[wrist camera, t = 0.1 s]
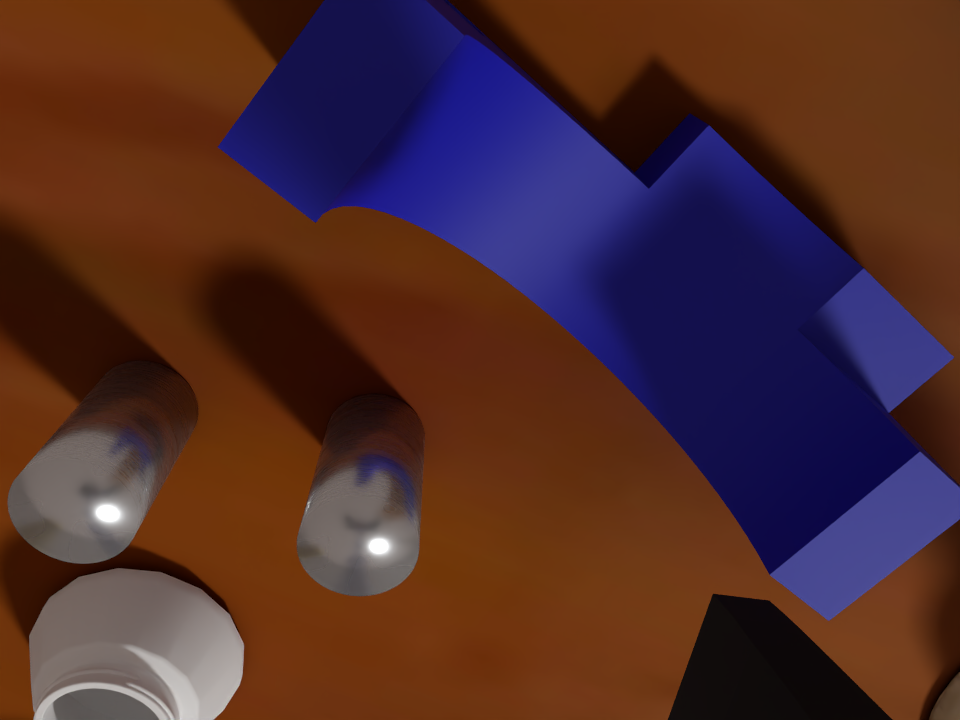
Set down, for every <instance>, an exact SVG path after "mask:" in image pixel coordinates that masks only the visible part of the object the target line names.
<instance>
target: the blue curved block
mask: <svg viewBox="0 0 960 720" xmlns="http://www.w3.org/2000/svg"><path fill="white" fill-rule="evenodd" d="M218 148H220V149H221V150H222V151H224V152H225V153H226V154H228V155H229V156H230V157H231V158H233V159H234V160H235V161H237V162H238V163H239V164H240V165H242V166H243V167H244V168H246V169H247V170H248V171H249V172H251V173H252V174H253V175H255V176H256V177H257V178H258V179H260V180H261V181H262V182H264V183H265V184H266V185H268V186H269V187H270V188H271V189H273V190H274V191H275V192H277V193H278V194H279V195H280V196H282V197H283V198H284V199H286V200H287V201H288V202H289V203H291V204H292V205H293V206H295V207H296V208H297V209H298V210H300V211H301V212H302V213H304V214H305V215H306V216H307V217H309V218H310V219H311V220H313V221H314V222H315V223H316V222H317V220H318V219H319V218H320V217H321V215H322V214H324V213H325V212H327V211H329V210H330V209H333V208H337V207H341V206H359V207H365V208H371V209H375V210H378V211H382V212H386V213H388V214H391V215H394V216H396V217H399V218H402V219H404V220H406V221H409V222H411V223H413V224H415V225H417V226H420V227H422V228H423V229H425V230H427V231H429V232H431V233H433V234H435V235H437V236H439V237H440V238H442V239H444V240H446V241H447V242H449V243H451V244H452V245H454V246H456V247H457V248H459V249H461V250H462V251H464V252H465V253H467V254H468V255H470V256H472V257H473V258H475V259H476V260H478V261H479V262H481V263H482V264H483V265H485V266H486V267H488V268H489V269H491V270H492V271H494V272H495V273H496V274H498V275H499V276H500V277H502V278H503V279H505V280H506V281H507V282H509V283H510V284H511V285H513V286H514V287H515V288H517V289H518V290H519V291H520V292H522V293H523V294H524V295H526V296H527V297H528V298H529V299H531V300H532V301H533V302H534V303H536V304H537V305H538V306H539V307H540V308H542V309H543V310H544V311H545V312H547V313H548V314H549V315H550V316H551V317H552V318H554V319H555V320H556V321H557V322H558V323H559V324H561V325H562V326H563V327H564V328H565V329H566V330H567V331H569V332H570V333H571V334H572V335H573V336H574V337H575V338H576V339H577V340H579V341H580V342H581V343H582V344H583V345H584V346H585V347H586V348H587V349H588V350H589V351H591V352H592V353H593V354H594V355H595V356H596V357H597V358H598V359H599V360H600V361H601V362H602V363H603V364H604V365H605V366H606V367H607V368H608V369H609V370H610V371H611V372H612V373H613V374H614V375H615V376H616V377H617V378H618V379H619V380H620V381H621V382H622V383H623V384H624V385H625V386H626V387H627V388H628V389H629V390H630V391H631V392H632V393H633V394H634V395H635V396H636V397H637V398H638V399H639V400H640V401H641V402H642V403H643V405H644V406H645V407H646V408H647V409H648V410H649V411H650V412H651V413H652V414H653V415H654V416H655V418H656V419H657V420H658V421H659V422H660V423H661V424H662V425H663V427H664V428H665V429H666V430H667V431H668V432H669V433H670V434H671V436H672V437H673V438H674V439H675V440H676V442H677V443H678V444H679V445H680V446H681V447H682V449H683V450H684V451H685V452H686V453H687V455H688V456H689V457H690V458H691V460H692V461H693V462H694V463H695V465H696V466H697V467H698V468H699V470H700V471H701V472H702V473H703V475H704V476H705V477H706V478H707V480H708V481H709V482H710V484H711V485H712V486H713V488H714V489H715V490H716V492H717V493H718V494H719V496H720V497H721V499H722V500H723V501H724V503H725V504H726V506H727V507H728V508H729V510H730V511H731V513H732V514H733V515H734V517H735V518H736V520H737V521H738V523H739V524H740V526H741V527H742V529H743V531H744V532H745V534H746V535H747V537H748V538H749V540H750V542H751V543H752V545H753V546H754V548H755V550H756V551H757V553H758V555H759V556H760V558H761V560H762V562H763V564H764V565H765V567H766V569H767V571H768V573H769V575H770V576H772V577H773V578H774V579H776V580H777V581H778V582H780V583H781V584H782V585H783V586H785V587H786V588H787V589H789V590H790V591H791V592H792V593H794V594H795V595H796V596H798V597H799V598H800V599H801V600H803V601H804V602H805V603H807V604H808V605H809V606H810V607H812V608H813V609H814V610H816V611H817V612H818V613H819V614H821V615H822V616H823V617H825V618H826V619H827V620H831V619H832V618H833V617H834V616H836V615H837V614H838V613H840V612H841V611H842V610H843V609H845V608H846V607H847V606H849V605H850V604H851V603H852V602H854V601H855V600H856V599H858V598H859V597H860V596H861V595H863V594H864V593H865V592H867V591H868V590H869V589H870V588H872V587H873V586H874V585H876V584H877V583H878V582H879V581H881V580H882V579H883V578H885V577H886V576H887V575H888V574H890V573H891V572H892V571H894V570H895V569H896V568H897V567H899V566H900V565H901V564H903V563H904V562H905V561H906V560H908V559H909V558H910V557H912V556H913V555H914V554H916V553H917V552H918V551H919V550H921V549H922V548H923V547H925V546H926V545H927V544H928V543H930V542H931V541H932V540H934V539H935V538H936V537H937V536H939V535H940V534H941V533H943V532H944V531H945V530H946V529H948V528H949V527H950V526H952V525H953V524H954V523H955V522H957V521H958V520H959V519H960V485H959V484H958V483H957V482H956V481H955V480H954V479H953V478H952V477H951V476H950V475H949V474H948V473H947V472H946V471H945V470H944V469H943V468H942V467H941V466H940V465H939V464H938V463H937V462H936V461H935V460H934V459H933V458H932V457H931V456H930V455H929V454H928V453H927V452H926V451H925V450H924V449H923V448H922V447H921V446H920V445H919V444H918V443H917V442H916V440H915V439H914V438H913V437H912V436H911V435H910V434H909V433H908V432H907V431H906V430H905V429H904V428H903V427H902V426H901V425H900V424H899V423H898V422H897V421H896V420H895V419H894V418H893V417H892V416H891V415H890V414H889V412H890V411H892V410H893V409H894V408H895V407H896V406H898V405H899V404H900V403H901V402H902V401H903V400H905V399H906V398H907V397H908V396H909V395H911V394H912V393H913V392H914V391H915V390H916V389H918V388H919V387H920V386H921V385H922V384H923V383H925V382H926V381H927V380H928V379H929V378H931V377H932V376H933V375H934V374H935V373H936V372H938V371H939V370H940V369H941V368H942V367H944V366H945V365H946V364H947V363H948V362H949V361H951V360H952V359H953V358H954V357H953V356H952V355H951V354H950V353H949V352H948V351H947V350H946V349H945V348H944V347H943V346H942V345H941V344H940V343H939V342H938V341H937V340H936V339H935V338H934V337H933V336H932V335H931V334H930V333H929V332H928V331H927V330H926V329H925V328H924V327H923V326H922V325H921V324H920V323H919V322H918V321H917V320H916V319H915V318H914V317H913V316H912V315H911V314H910V313H909V312H908V311H907V310H906V309H904V308H903V307H902V306H901V305H900V304H899V303H898V302H897V301H896V300H895V299H894V298H893V297H892V296H891V295H890V294H889V293H888V292H887V291H886V290H885V289H884V288H883V287H882V286H881V285H880V284H879V283H878V282H877V281H876V280H875V279H874V278H873V277H872V276H871V275H870V274H869V273H868V272H867V271H866V270H865V269H864V268H863V267H862V266H861V265H859V264H858V263H857V262H856V261H855V260H854V259H853V258H851V257H850V256H849V255H848V254H847V253H846V252H845V251H844V250H842V249H841V248H840V247H839V246H838V245H837V244H836V243H835V242H833V241H832V240H831V239H830V238H829V237H828V236H827V235H826V234H825V233H823V232H822V231H821V230H820V229H819V228H818V227H817V226H816V225H815V224H813V223H812V222H811V221H810V220H809V219H808V218H807V217H806V216H805V215H804V214H802V213H801V212H800V211H799V210H798V209H797V208H796V207H795V206H794V205H793V204H792V203H790V202H789V201H788V200H787V199H786V198H785V197H784V196H783V195H782V194H781V193H780V192H779V191H777V190H776V189H775V188H774V187H773V186H772V185H771V184H770V183H769V182H768V181H767V180H766V179H765V178H764V177H763V176H761V175H760V174H759V173H758V172H757V171H756V170H755V169H754V168H753V167H752V166H751V165H750V164H749V163H748V162H747V161H746V160H745V159H744V158H742V157H741V156H740V155H739V154H738V153H737V152H736V151H735V150H734V149H733V148H732V147H731V146H730V145H729V144H728V143H727V142H726V141H725V140H724V139H723V138H722V137H721V136H720V135H719V134H718V133H717V132H716V131H715V130H713V129H712V128H711V127H710V126H709V125H708V124H706V123H705V122H703V121H701V120H700V119H698V118H697V117H695V116H693V115H692V114H690V113H689V115H688V116H687V117H686V118H685V119H684V120H683V121H682V122H681V123H680V124H679V125H678V126H677V128H676V129H675V130H674V131H673V132H672V133H671V134H670V135H669V136H668V137H667V138H666V139H665V140H664V142H663V143H662V144H661V145H660V146H659V147H658V148H657V149H656V150H655V151H654V152H653V153H652V155H651V156H650V157H649V158H648V159H647V160H646V161H645V162H644V163H643V164H642V165H641V166H640V167H639V169H638V170H637V171H636V172H635V173H634V172H633V171H632V170H631V169H630V168H629V167H628V166H627V165H626V164H625V163H624V162H622V161H621V160H620V159H619V158H618V157H617V156H616V155H615V154H614V153H613V152H612V151H610V150H609V149H608V148H607V147H606V146H605V145H604V144H603V143H602V142H601V141H600V140H599V139H597V138H596V137H595V136H594V135H593V134H592V133H591V132H590V131H589V130H588V129H587V128H586V127H584V126H583V125H582V124H581V123H580V122H579V121H578V120H577V119H576V118H575V117H574V116H573V115H571V114H570V113H569V112H568V111H567V110H566V109H565V108H564V107H563V106H562V105H561V104H560V103H558V102H557V101H556V100H555V99H554V98H553V97H552V96H551V95H550V94H549V93H548V92H547V91H545V90H544V89H543V88H542V87H541V86H540V85H539V84H538V83H537V82H536V81H535V80H533V79H532V78H531V77H530V76H529V75H528V74H527V73H526V72H525V71H524V70H523V69H522V68H520V67H519V66H518V65H517V64H516V63H515V62H514V61H513V60H512V59H511V58H510V57H509V56H507V55H506V54H505V53H504V52H503V51H502V50H501V49H500V48H499V47H498V46H497V45H496V44H494V43H493V42H492V41H491V40H490V39H489V38H488V37H487V36H486V35H485V34H484V33H483V32H481V31H480V30H479V29H478V28H477V27H476V26H475V25H474V24H473V23H472V22H471V21H469V20H468V19H467V18H466V17H465V16H464V15H463V14H462V13H461V12H460V11H459V10H458V9H456V8H455V7H454V6H453V5H452V4H451V3H450V2H449V1H448V0H324V1H323V3H322V4H321V6H320V7H319V8H318V10H317V11H316V12H315V14H314V15H313V17H312V18H311V19H310V21H309V22H308V24H307V25H306V26H305V28H304V29H303V30H302V32H301V33H300V35H299V36H298V37H297V39H296V40H295V41H294V43H293V44H292V46H291V47H290V48H289V50H288V51H287V52H286V54H285V55H284V57H283V58H282V59H281V61H280V62H279V63H278V65H277V66H276V68H275V69H274V70H273V72H272V73H271V74H270V76H269V77H268V79H267V80H266V81H265V83H264V84H263V85H262V87H261V88H260V90H259V91H258V92H257V94H256V95H255V96H254V98H253V99H252V101H251V102H250V103H249V105H248V106H247V107H246V109H245V110H244V112H243V113H242V114H241V116H240V117H239V118H238V120H237V121H236V123H235V124H234V125H233V127H232V128H231V129H230V131H229V132H228V134H227V135H226V136H225V138H224V139H223V141H222V142H221V143H220V145H219V146H218Z"/></svg>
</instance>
